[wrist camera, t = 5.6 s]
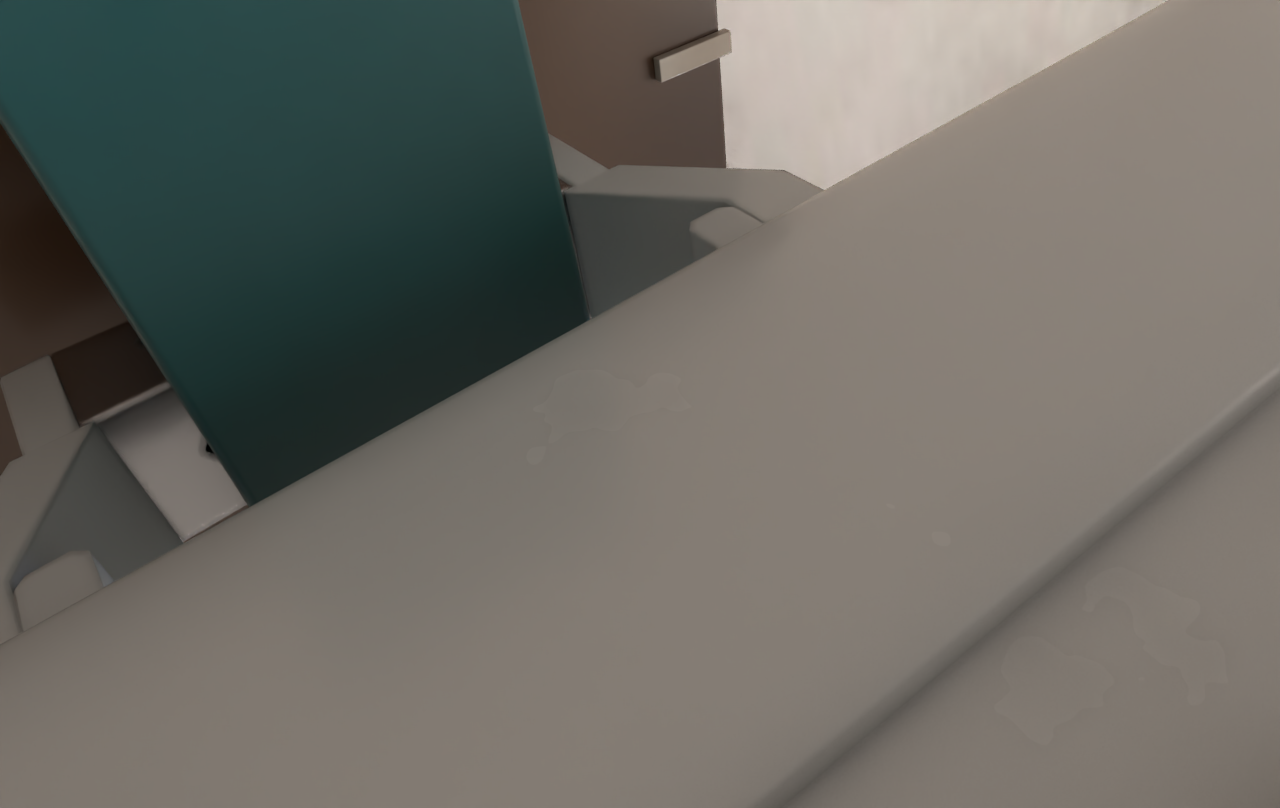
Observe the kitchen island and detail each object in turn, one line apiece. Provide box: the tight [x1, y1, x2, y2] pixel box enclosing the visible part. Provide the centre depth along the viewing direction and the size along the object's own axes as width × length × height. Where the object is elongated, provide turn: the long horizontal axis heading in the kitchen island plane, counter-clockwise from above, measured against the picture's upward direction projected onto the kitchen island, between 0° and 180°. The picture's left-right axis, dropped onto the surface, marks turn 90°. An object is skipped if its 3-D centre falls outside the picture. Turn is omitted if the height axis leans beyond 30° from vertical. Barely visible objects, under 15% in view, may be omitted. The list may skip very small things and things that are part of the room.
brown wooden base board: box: [0, 0, 732, 543], centre depth 13 cm, size 15×15×3 cm
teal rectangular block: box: [0, 0, 590, 507], centre depth 11 cm, size 11×4×5 cm, turn 9°
